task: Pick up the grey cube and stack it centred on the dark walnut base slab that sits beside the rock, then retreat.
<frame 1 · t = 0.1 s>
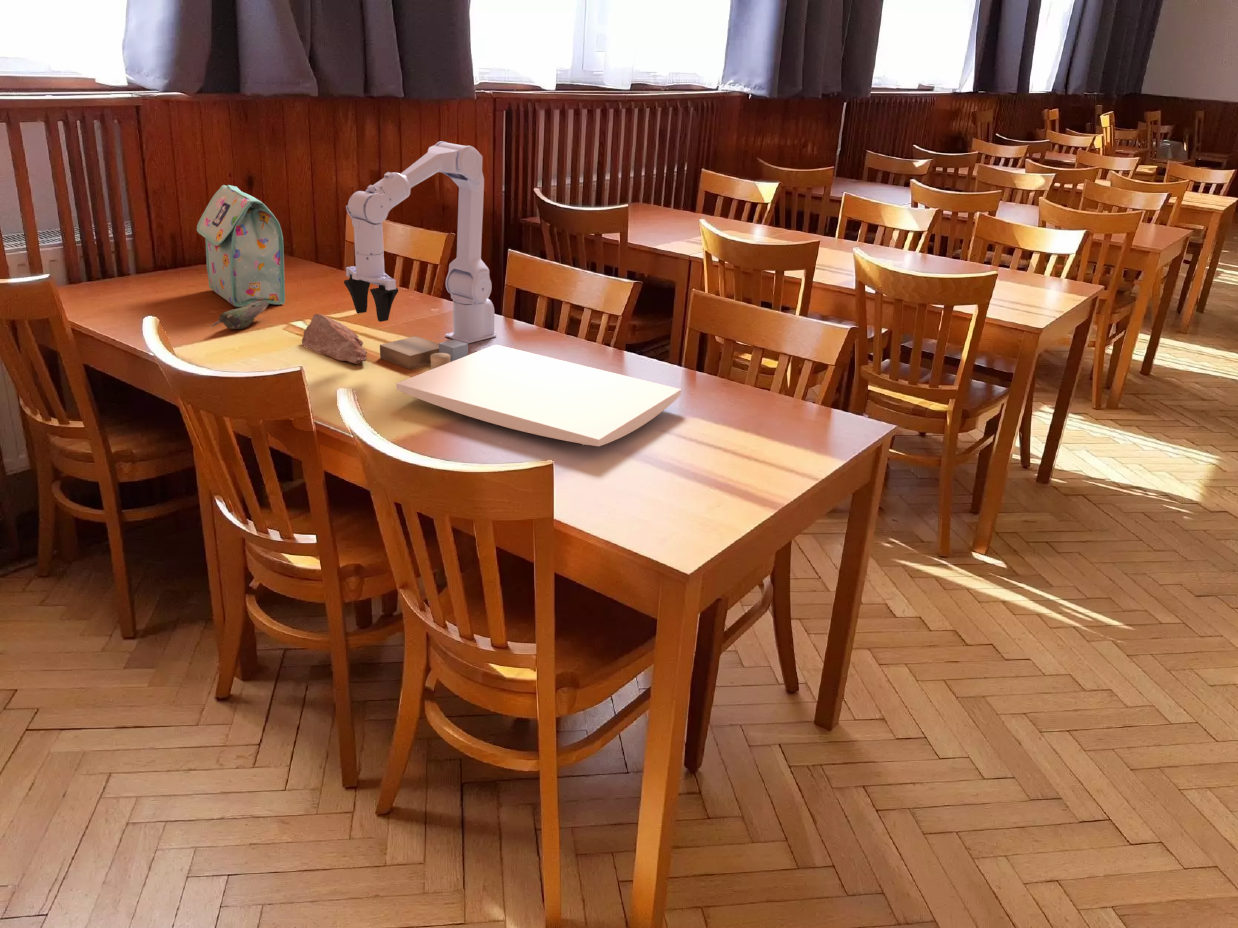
hand: (372, 316, 207), 10 cm above the table, fingers open, 7 cm apart
beech cylinder: (440, 378, 204), on the table
grey cube: (453, 363, 214), on the table
walnut base: (413, 358, 214), on the table
board: (540, 409, 192), on the table
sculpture: (241, 328, 227), on the table
rock: (347, 352, 217), on the table
lunch bag: (246, 298, 251), on the table
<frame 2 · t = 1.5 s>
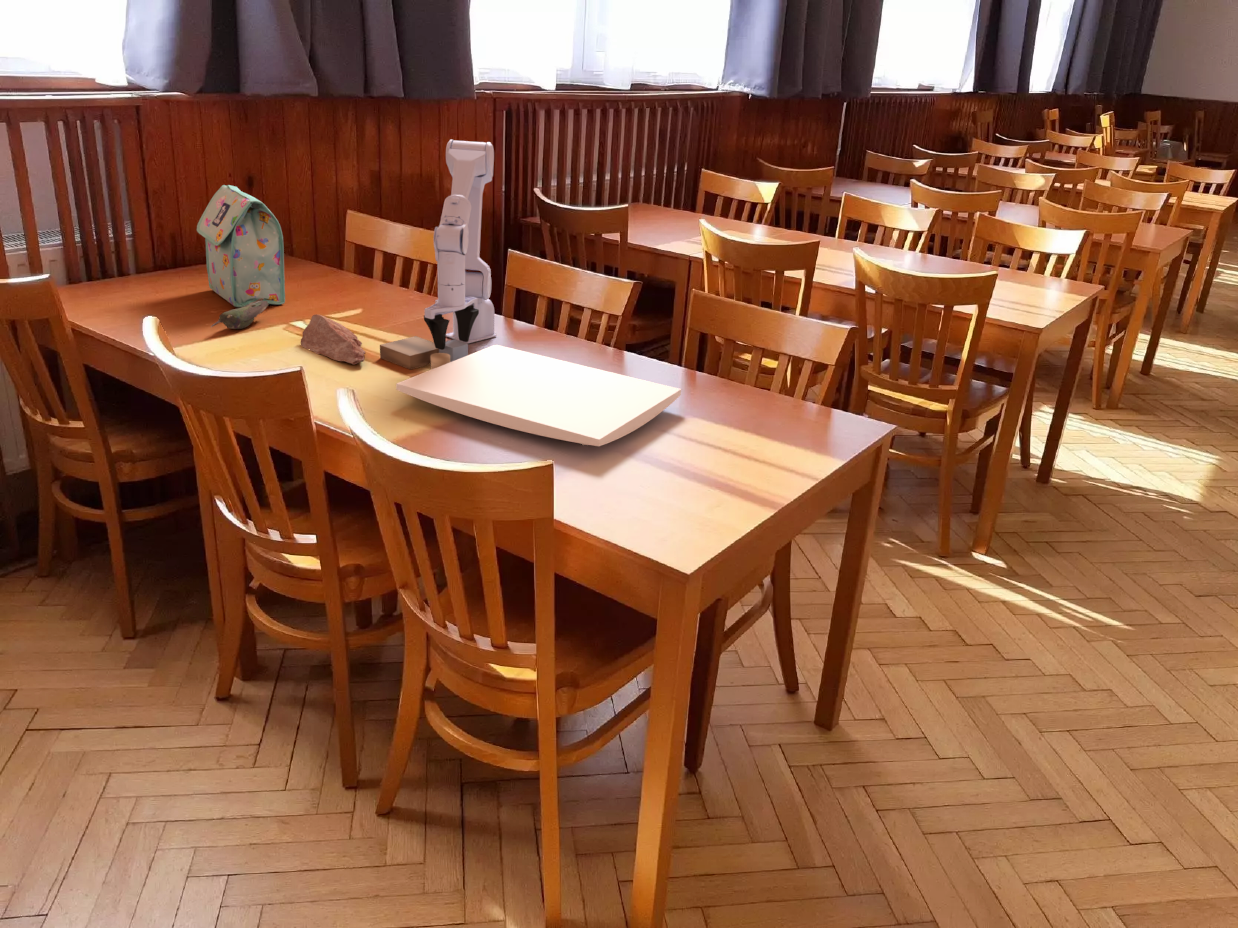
hand: (452, 344, 212), 4 cm above the table, fingers open, 7 cm apart
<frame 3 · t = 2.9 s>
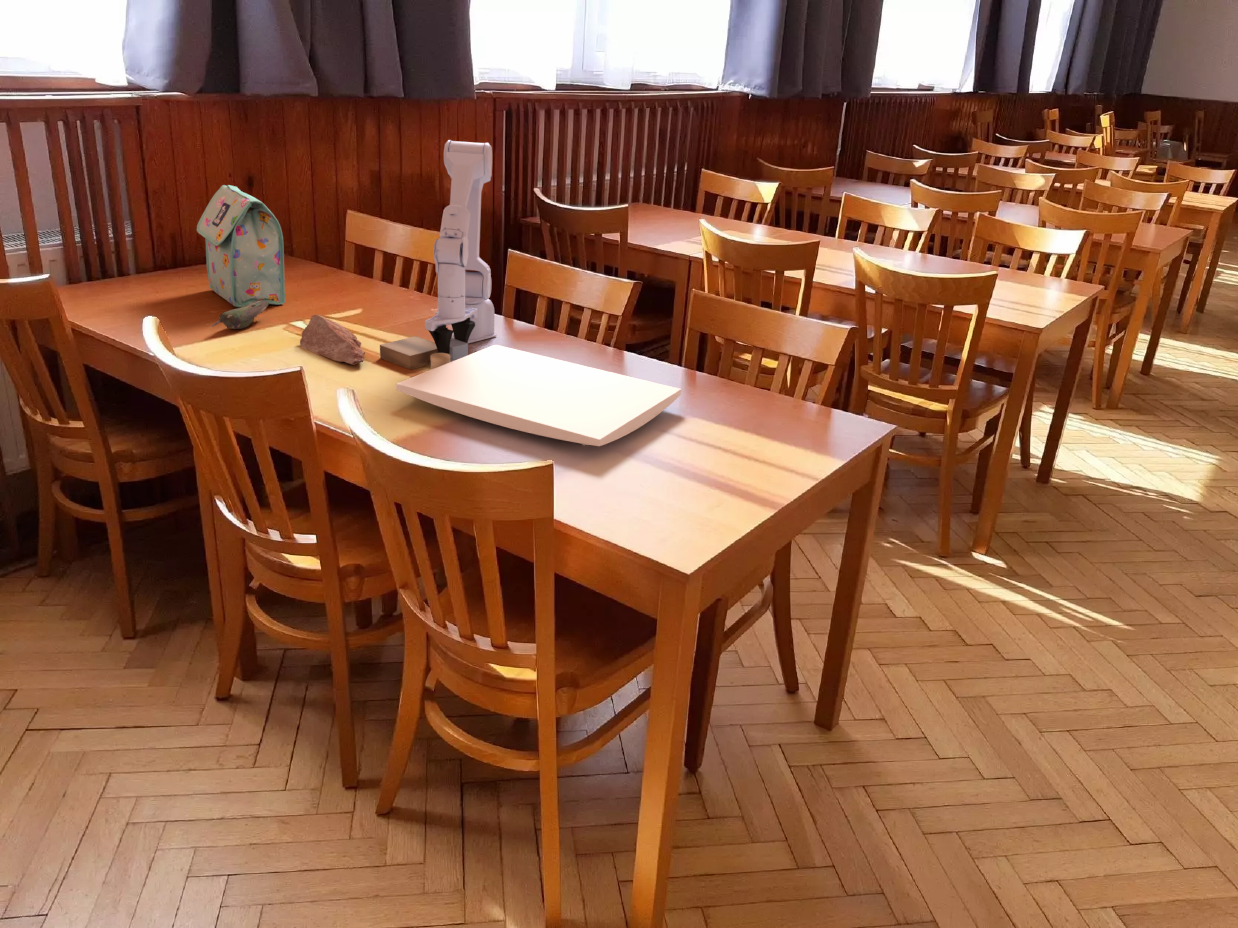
hand: (452, 355, 213), 1 cm above the table, fingers closed on grey cube, 5 cm apart
grey cube: (453, 362, 214), on the table, touching gripper
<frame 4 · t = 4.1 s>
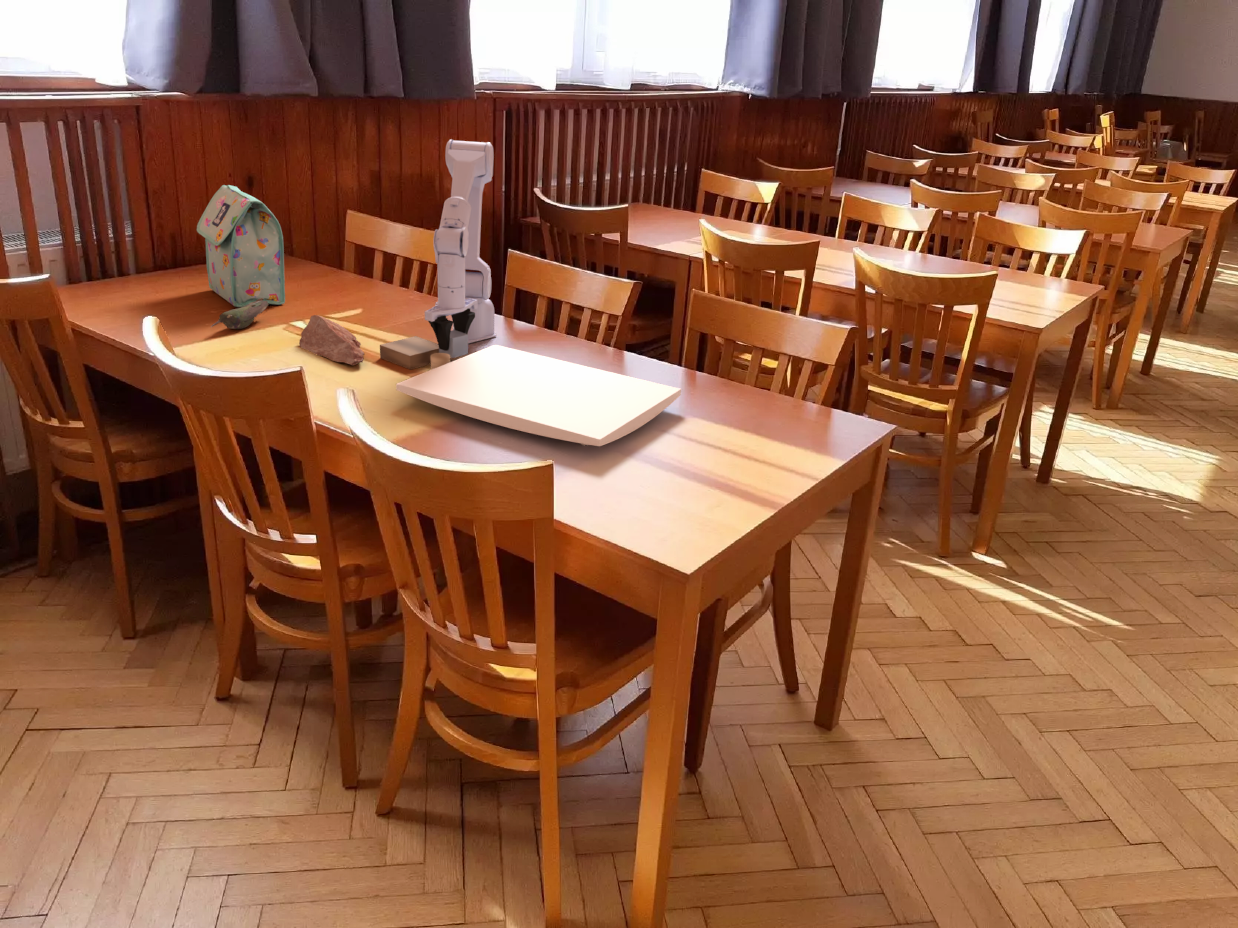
hand: (452, 346, 212), 3 cm above the table, fingers closed on grey cube, 5 cm apart
grey cube: (453, 353, 213), point 2 cm above the table, touching gripper
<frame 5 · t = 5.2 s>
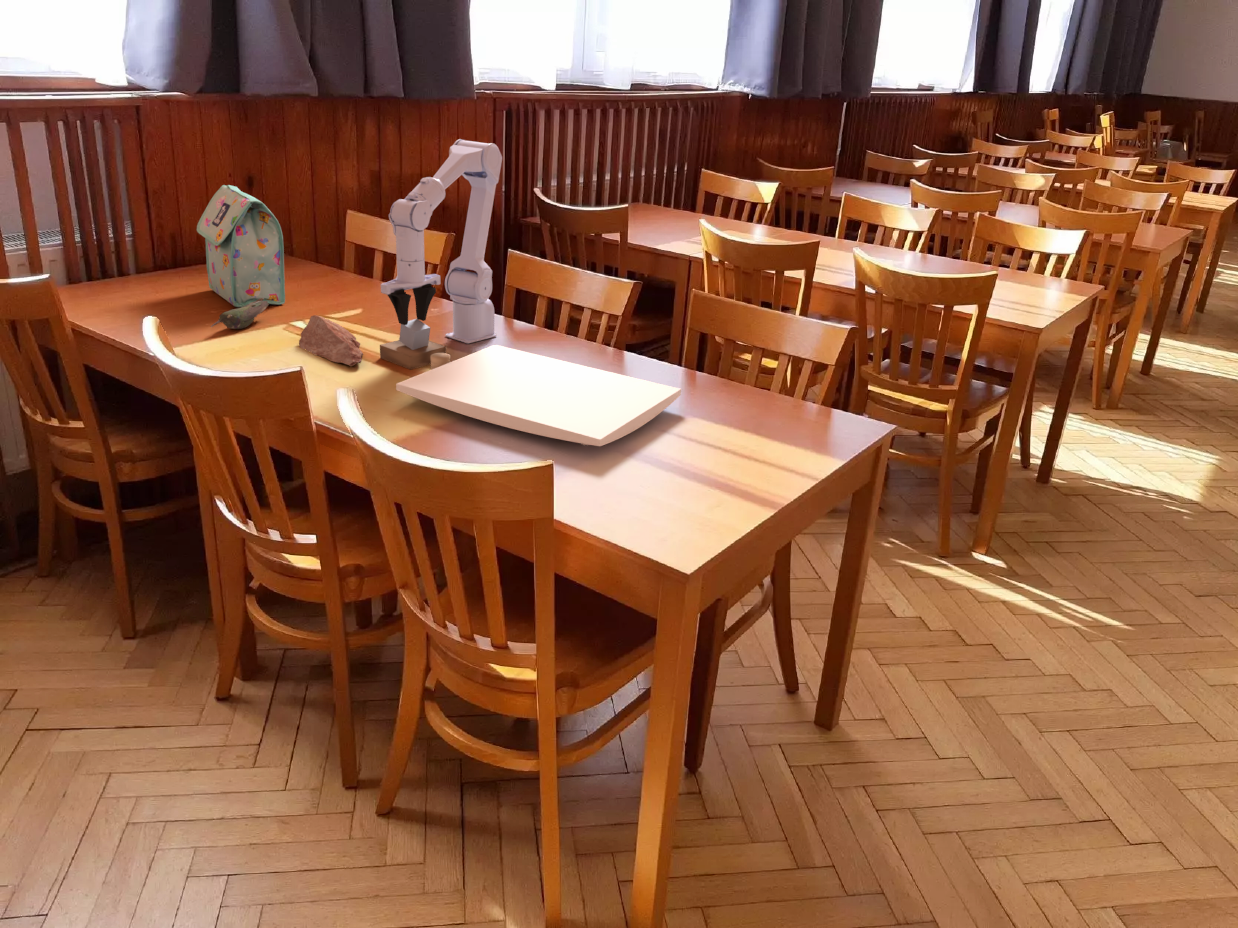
hand: (412, 321, 211), 8 cm above the table, fingers closed on grey cube, 4 cm apart
grey cube: (413, 343, 213), point 4 cm above the table, tilted 13°, touching gripper, walnut base
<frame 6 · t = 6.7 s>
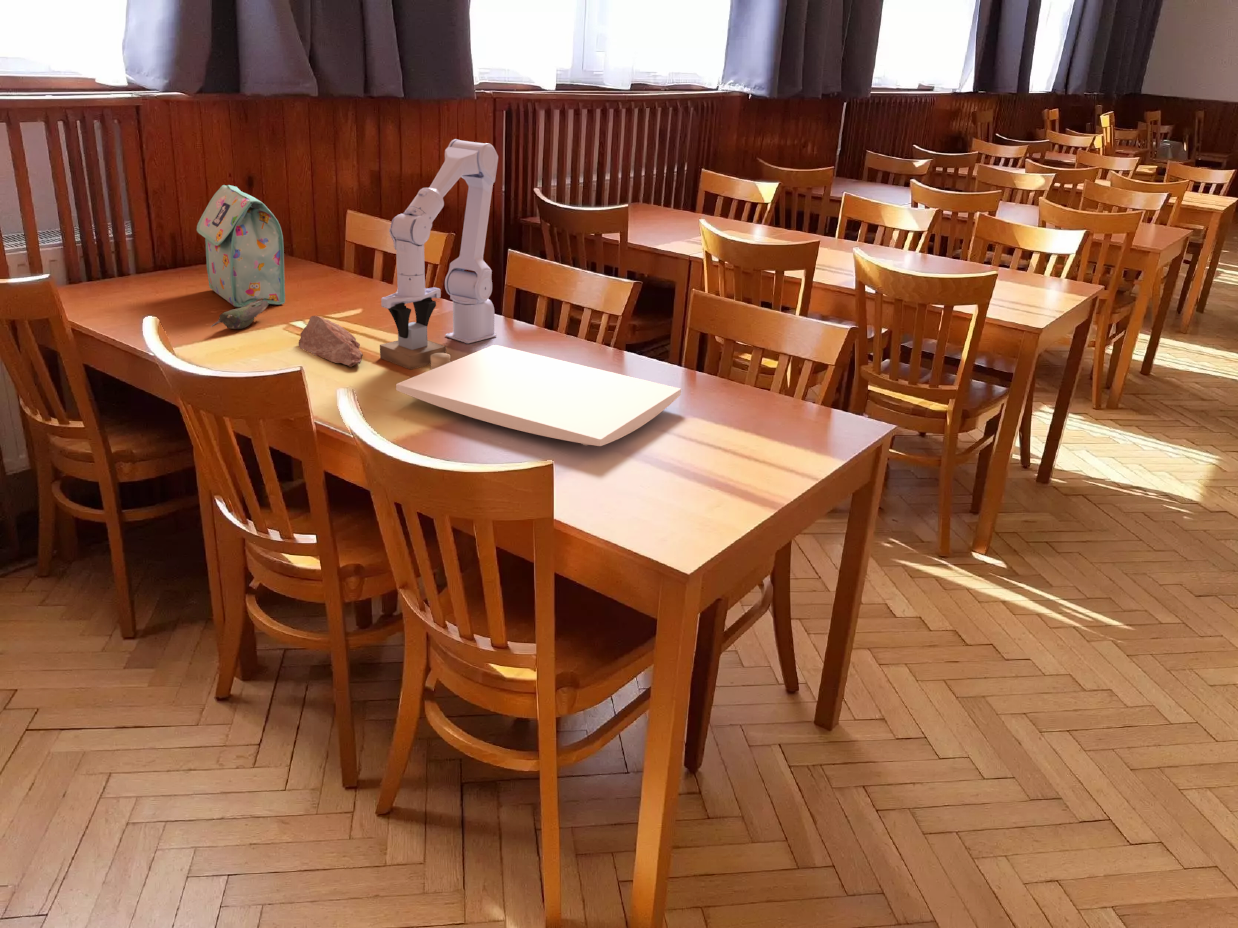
hand: (412, 335, 212), 5 cm above the table, fingers closed on grey cube, 4 cm apart
grey cube: (413, 345, 213), point 3 cm above the table, touching gripper
when the fingers open (5 cm above the table, at t = 6.7 s): grey cube stays where it is, resting on walnut base.
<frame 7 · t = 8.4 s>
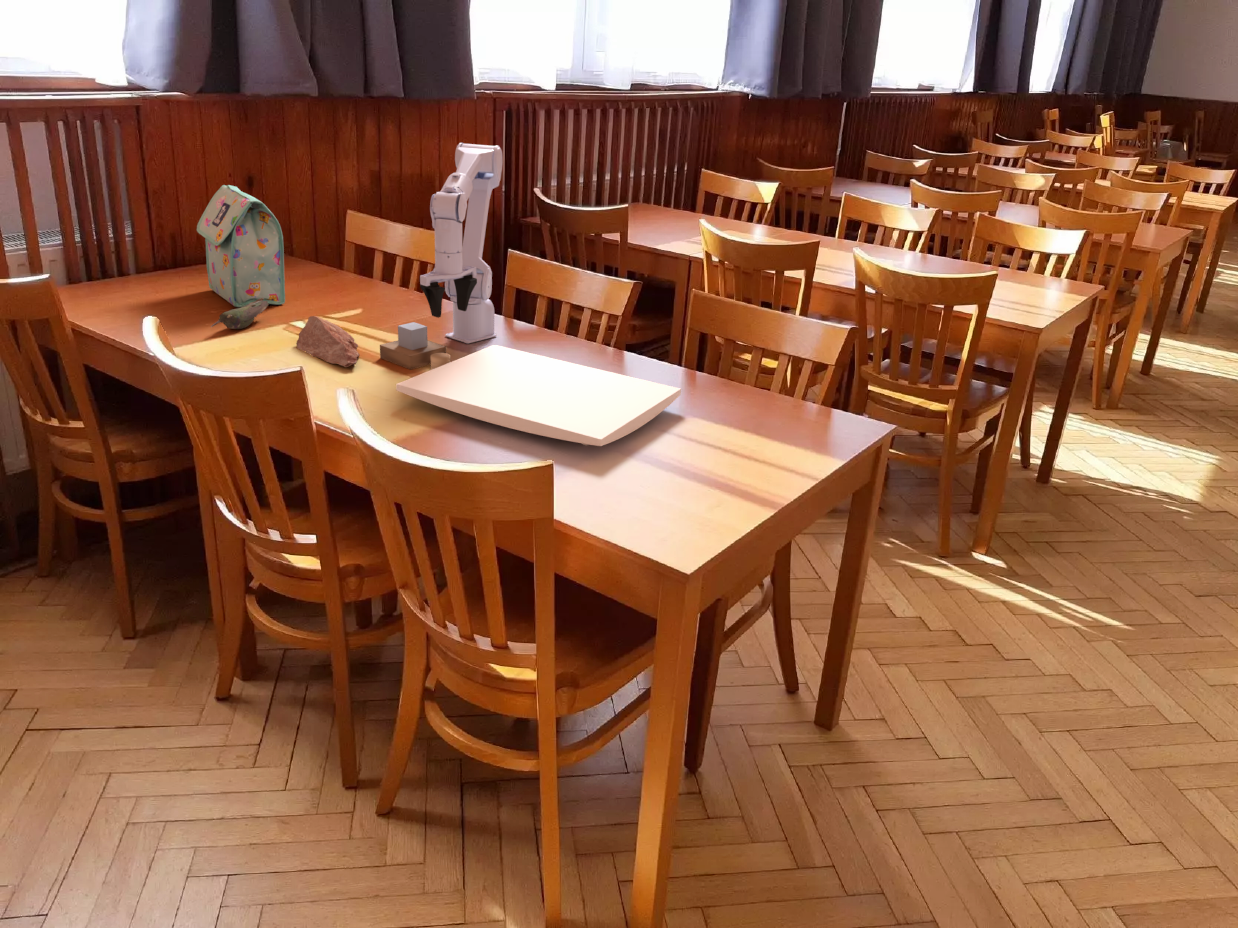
hand: (449, 313, 213), 10 cm above the table, fingers open, 7 cm apart
grey cube: (413, 345, 213), point 3 cm above the table, touching walnut base
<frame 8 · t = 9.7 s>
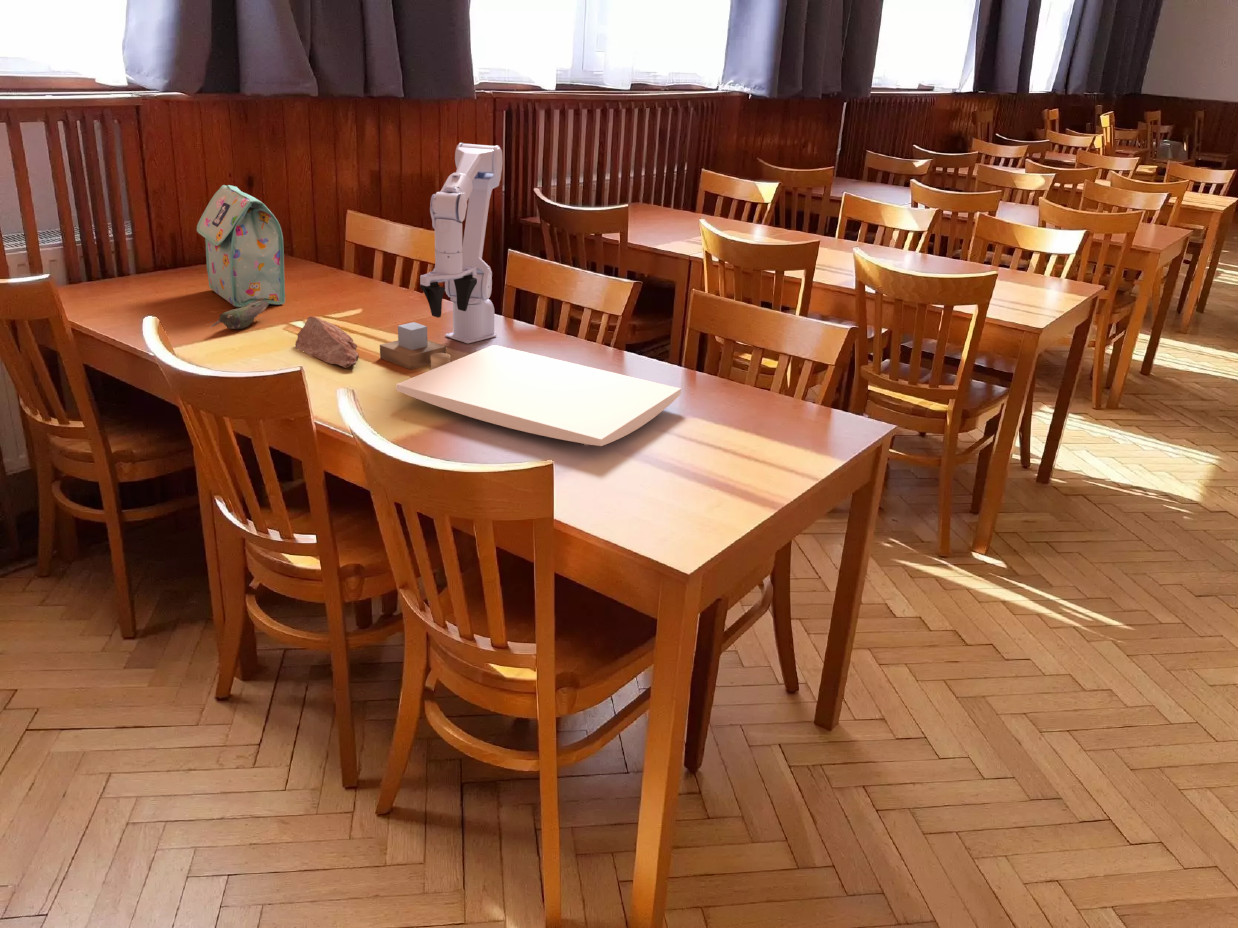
hand: (449, 313, 213), 10 cm above the table, fingers open, 7 cm apart
at the end: grey cube inside the target area on the walnut base (0.0 cm from its centre), point 3.0 cm above the walnut base's base; grey cube tilted 0°; the gripper is holding nothing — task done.
